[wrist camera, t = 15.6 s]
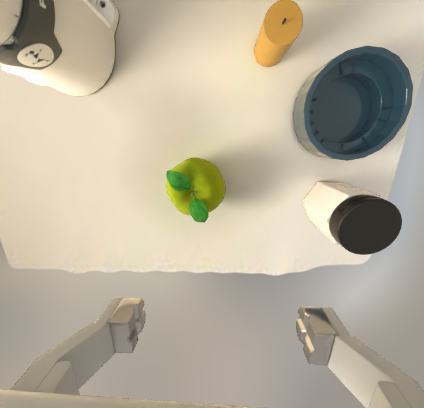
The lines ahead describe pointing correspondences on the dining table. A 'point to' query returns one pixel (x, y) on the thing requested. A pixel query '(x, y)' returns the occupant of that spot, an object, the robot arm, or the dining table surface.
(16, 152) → the dining table surface
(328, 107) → the bowl
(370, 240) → the jar
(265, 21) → the candle
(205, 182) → the fruit
